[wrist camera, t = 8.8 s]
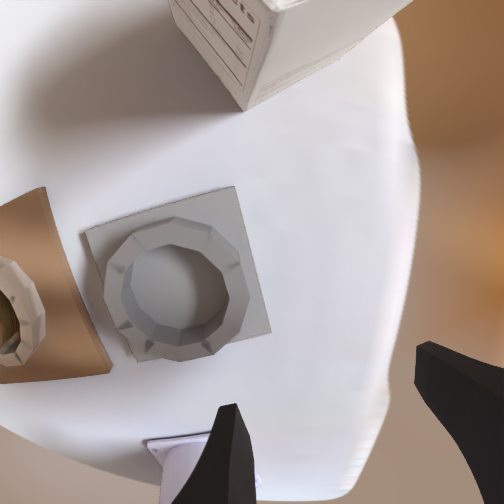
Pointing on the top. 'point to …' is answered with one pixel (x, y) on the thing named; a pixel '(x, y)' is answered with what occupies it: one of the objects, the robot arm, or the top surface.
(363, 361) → the top surface
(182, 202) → the spline stand
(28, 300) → the hub board
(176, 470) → the robot arm
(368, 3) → the supplement box
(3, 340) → the brass peg
